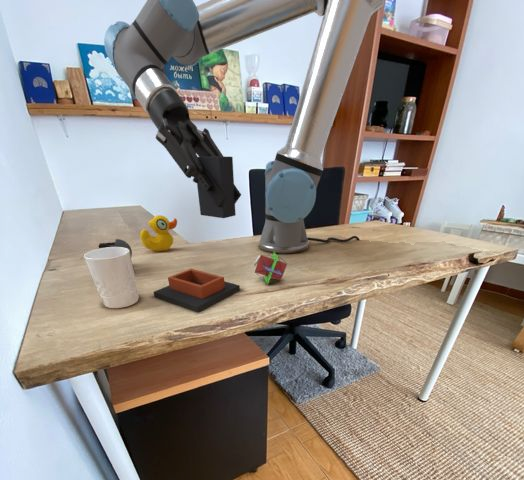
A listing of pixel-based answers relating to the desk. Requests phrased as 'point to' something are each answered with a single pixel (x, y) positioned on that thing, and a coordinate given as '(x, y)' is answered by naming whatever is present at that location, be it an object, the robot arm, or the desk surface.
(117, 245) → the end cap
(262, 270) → the geometric puzzle
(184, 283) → the base pad
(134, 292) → the white cup
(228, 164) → the pad block
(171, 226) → the duckling
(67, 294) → the desk surface
